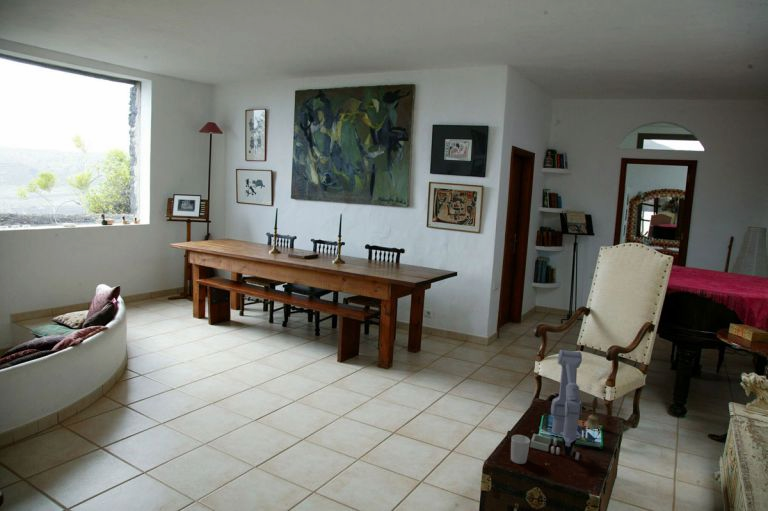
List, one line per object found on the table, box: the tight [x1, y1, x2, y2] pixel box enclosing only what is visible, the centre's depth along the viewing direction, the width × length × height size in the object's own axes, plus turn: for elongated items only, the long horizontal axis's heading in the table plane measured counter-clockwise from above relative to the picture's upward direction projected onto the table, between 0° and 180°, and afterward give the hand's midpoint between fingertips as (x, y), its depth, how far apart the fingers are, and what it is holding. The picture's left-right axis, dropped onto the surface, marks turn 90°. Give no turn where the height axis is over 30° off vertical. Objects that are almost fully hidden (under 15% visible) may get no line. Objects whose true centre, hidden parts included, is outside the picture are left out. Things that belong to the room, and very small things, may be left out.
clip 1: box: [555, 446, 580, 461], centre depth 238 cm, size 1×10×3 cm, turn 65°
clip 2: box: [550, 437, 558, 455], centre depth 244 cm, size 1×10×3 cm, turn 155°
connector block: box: [562, 445, 575, 457], centre depth 241 cm, size 4×4×4 cm
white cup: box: [510, 434, 531, 465], centre depth 232 cm, size 8×8×10 cm
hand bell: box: [583, 397, 601, 430], centre depth 269 cm, size 8×8×16 cm
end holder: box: [529, 433, 552, 452], centre depth 247 cm, size 8×8×3 cm
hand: (567, 454), depth 238 cm, fingers closed
